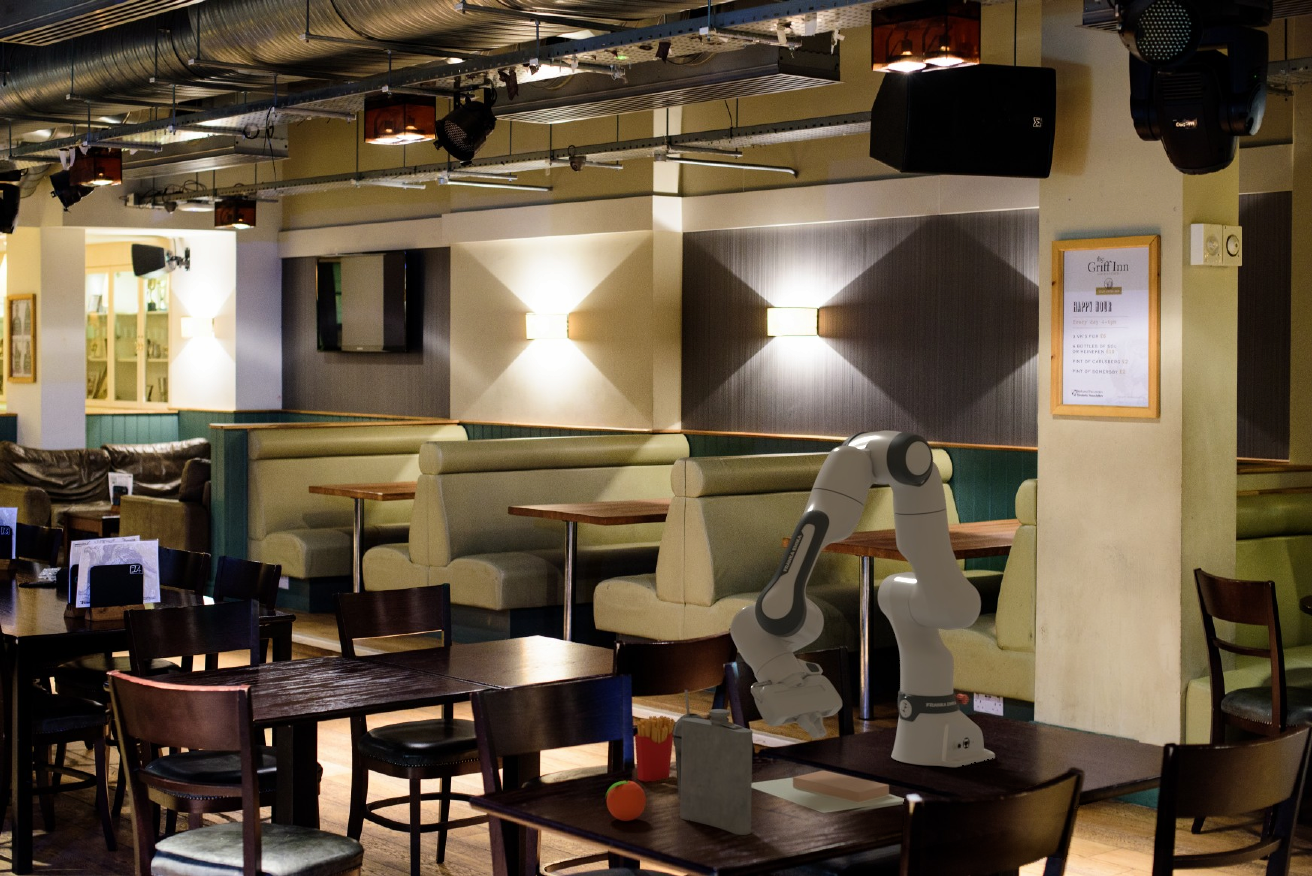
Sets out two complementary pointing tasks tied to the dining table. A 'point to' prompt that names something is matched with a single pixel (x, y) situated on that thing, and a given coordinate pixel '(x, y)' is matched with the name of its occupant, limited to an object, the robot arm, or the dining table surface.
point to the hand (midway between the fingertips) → (820, 736)
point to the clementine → (625, 800)
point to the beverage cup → (678, 740)
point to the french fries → (654, 748)
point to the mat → (820, 797)
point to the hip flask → (716, 772)
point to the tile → (841, 786)
